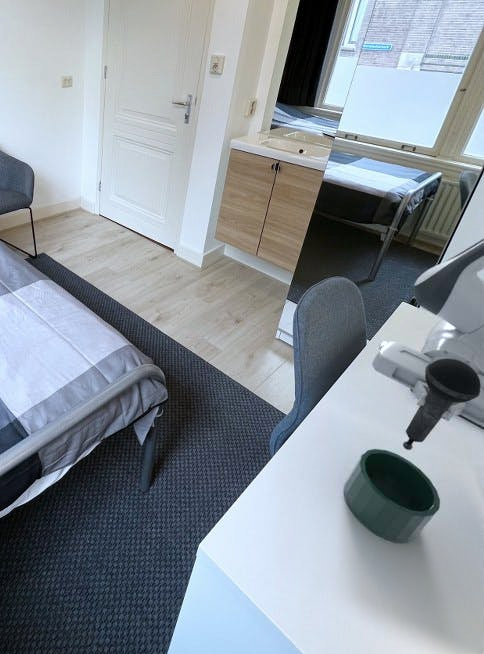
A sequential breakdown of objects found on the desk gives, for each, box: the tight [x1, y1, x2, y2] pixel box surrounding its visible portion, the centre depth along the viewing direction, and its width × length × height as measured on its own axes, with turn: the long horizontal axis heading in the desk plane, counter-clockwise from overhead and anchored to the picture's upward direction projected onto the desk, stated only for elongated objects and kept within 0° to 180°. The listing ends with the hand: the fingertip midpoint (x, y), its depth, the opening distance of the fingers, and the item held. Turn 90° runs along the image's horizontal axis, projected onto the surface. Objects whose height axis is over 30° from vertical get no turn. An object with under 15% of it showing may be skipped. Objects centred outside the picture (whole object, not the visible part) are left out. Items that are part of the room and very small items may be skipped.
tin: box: [343, 448, 441, 544], centre depth 73 cm, size 12×12×8 cm
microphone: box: [402, 358, 481, 451], centre depth 69 cm, size 7×7×20 cm
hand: (434, 410), depth 68 cm, fingers closed on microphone
